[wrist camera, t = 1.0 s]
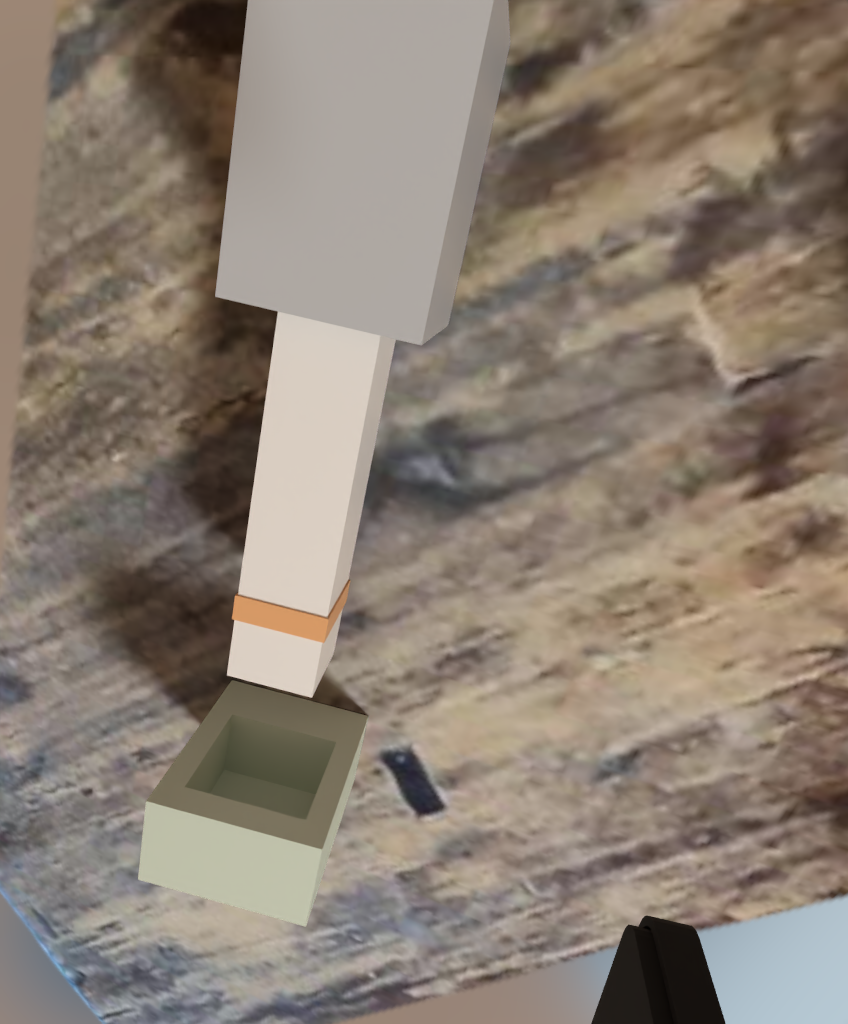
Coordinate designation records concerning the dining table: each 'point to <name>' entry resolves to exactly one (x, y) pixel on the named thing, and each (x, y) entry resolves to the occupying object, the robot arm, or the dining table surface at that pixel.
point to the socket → (254, 802)
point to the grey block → (360, 158)
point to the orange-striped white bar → (306, 500)
